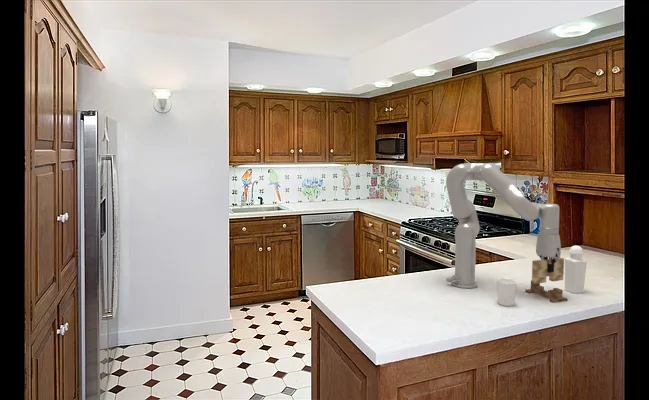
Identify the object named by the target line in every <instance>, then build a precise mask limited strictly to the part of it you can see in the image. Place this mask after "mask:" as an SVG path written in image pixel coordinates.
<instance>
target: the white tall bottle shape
mask: <svg viewBox="0 0 649 400" xmlns="http://www.w3.org/2000/svg"><path fill="white" fill-rule="evenodd" d="M568 253H569V255H570V257H566V258H564V290H565V291H566V292H569V293H570V294H584V290H585V281H586V272H587V264H588V261H587V260H586V259H583V257H582V256H583V255H584V250H583V248H582V247H581V246H580V245H572V246H571V247H569V251H568Z"/></svg>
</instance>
